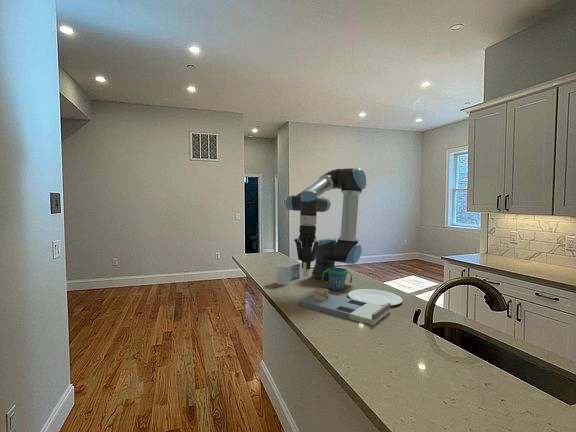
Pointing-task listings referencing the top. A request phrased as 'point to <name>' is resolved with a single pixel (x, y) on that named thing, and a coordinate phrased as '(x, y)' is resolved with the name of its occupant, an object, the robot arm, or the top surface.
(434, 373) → the top surface
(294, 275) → the medicine box
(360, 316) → the board
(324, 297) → the maple block
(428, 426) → the top surface
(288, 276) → the white cup
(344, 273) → the snack cup
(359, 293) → the plate
